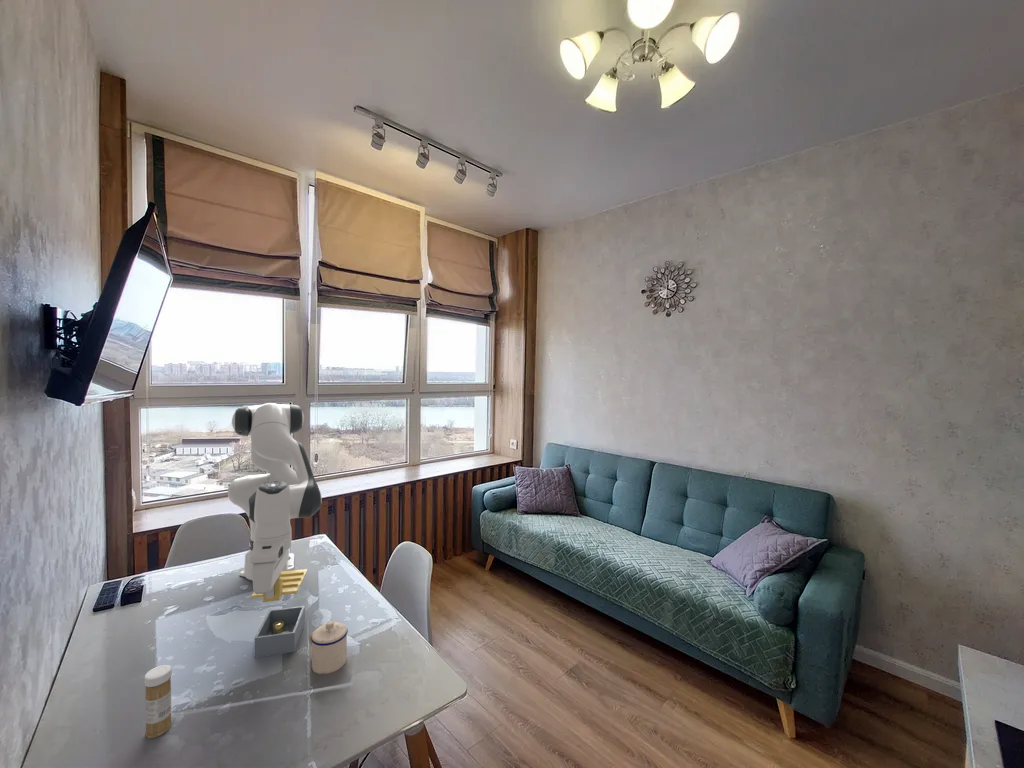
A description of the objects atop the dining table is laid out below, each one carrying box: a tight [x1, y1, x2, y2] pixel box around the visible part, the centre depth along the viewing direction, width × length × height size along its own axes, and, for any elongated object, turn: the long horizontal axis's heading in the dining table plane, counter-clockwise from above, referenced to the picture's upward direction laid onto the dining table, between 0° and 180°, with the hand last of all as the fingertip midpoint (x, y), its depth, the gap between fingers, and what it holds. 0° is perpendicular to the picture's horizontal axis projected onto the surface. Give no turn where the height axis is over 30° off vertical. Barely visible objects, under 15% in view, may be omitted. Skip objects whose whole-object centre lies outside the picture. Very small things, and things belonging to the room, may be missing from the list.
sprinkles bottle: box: [144, 664, 173, 739], centre depth 92 cm, size 5×5×13 cm
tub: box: [253, 605, 306, 658], centre depth 122 cm, size 14×10×6 cm
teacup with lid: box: [309, 620, 349, 675], centre depth 114 cm, size 12×9×12 cm
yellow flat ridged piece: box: [251, 568, 309, 603], centre depth 121 cm, size 18×11×4 cm, turn 16°
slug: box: [273, 621, 284, 635], centre depth 125 cm, size 3×3×3 cm
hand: (272, 592), depth 113 cm, fingers closed on yellow flat ridged piece, 3 cm apart
